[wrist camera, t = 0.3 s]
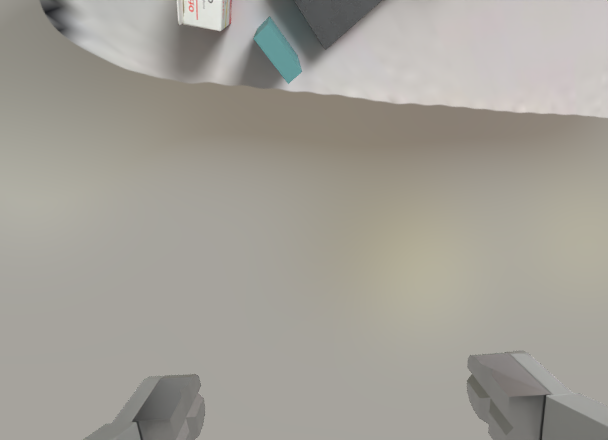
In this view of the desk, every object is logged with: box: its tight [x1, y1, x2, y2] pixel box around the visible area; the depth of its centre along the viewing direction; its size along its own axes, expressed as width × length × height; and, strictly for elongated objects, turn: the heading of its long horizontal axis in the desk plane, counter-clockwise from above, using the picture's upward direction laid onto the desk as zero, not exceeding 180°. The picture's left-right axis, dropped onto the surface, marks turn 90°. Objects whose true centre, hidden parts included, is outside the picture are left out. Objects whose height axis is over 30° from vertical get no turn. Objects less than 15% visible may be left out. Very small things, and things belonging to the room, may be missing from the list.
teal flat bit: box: [253, 16, 302, 84], centre depth 44 cm, size 7×2×12 cm, turn 38°
